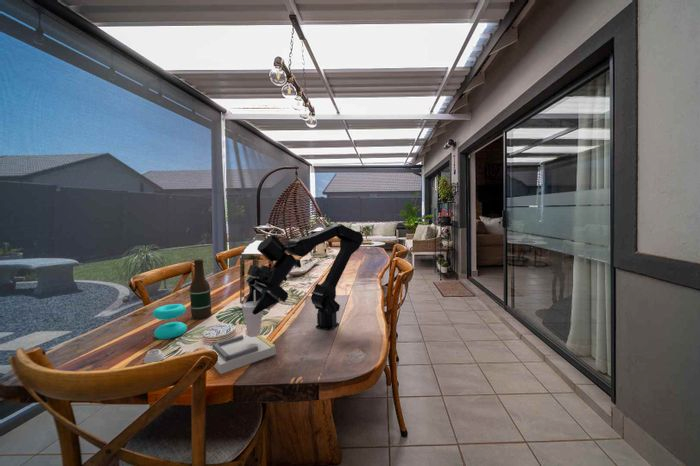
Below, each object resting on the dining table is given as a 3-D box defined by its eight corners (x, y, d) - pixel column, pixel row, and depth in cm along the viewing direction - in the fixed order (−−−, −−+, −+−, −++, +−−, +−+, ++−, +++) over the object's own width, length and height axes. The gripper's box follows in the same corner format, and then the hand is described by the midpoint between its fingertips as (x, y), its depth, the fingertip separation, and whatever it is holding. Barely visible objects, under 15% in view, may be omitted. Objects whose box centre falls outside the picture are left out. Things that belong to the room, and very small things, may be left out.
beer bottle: (215, 315, 125) (212, 259, 124) (197, 321, 119) (194, 261, 117) (204, 312, 129) (202, 257, 128) (187, 317, 123) (183, 260, 121)
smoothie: (265, 336, 90) (264, 291, 89) (243, 340, 88) (241, 294, 86) (263, 328, 96) (262, 286, 95) (242, 332, 93) (241, 288, 92)
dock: (256, 340, 99) (255, 329, 99) (275, 354, 89) (275, 343, 89) (205, 355, 89) (204, 344, 89) (220, 374, 78) (219, 361, 78)
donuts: (153, 305, 107) (185, 301, 112) (155, 332, 107) (186, 327, 113) (151, 313, 98) (186, 308, 103) (153, 342, 99) (187, 336, 104)
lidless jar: (167, 356, 89) (150, 357, 89) (167, 347, 89) (149, 347, 89) (157, 364, 84) (139, 365, 84) (157, 354, 84) (139, 355, 84)
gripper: (250, 252, 100) (218, 290, 93) (277, 257, 86) (241, 303, 79) (273, 272, 105) (244, 309, 99) (301, 280, 91) (269, 324, 85)
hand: (248, 311), depth 90 cm, fingers closed on smoothie, 6 cm apart
